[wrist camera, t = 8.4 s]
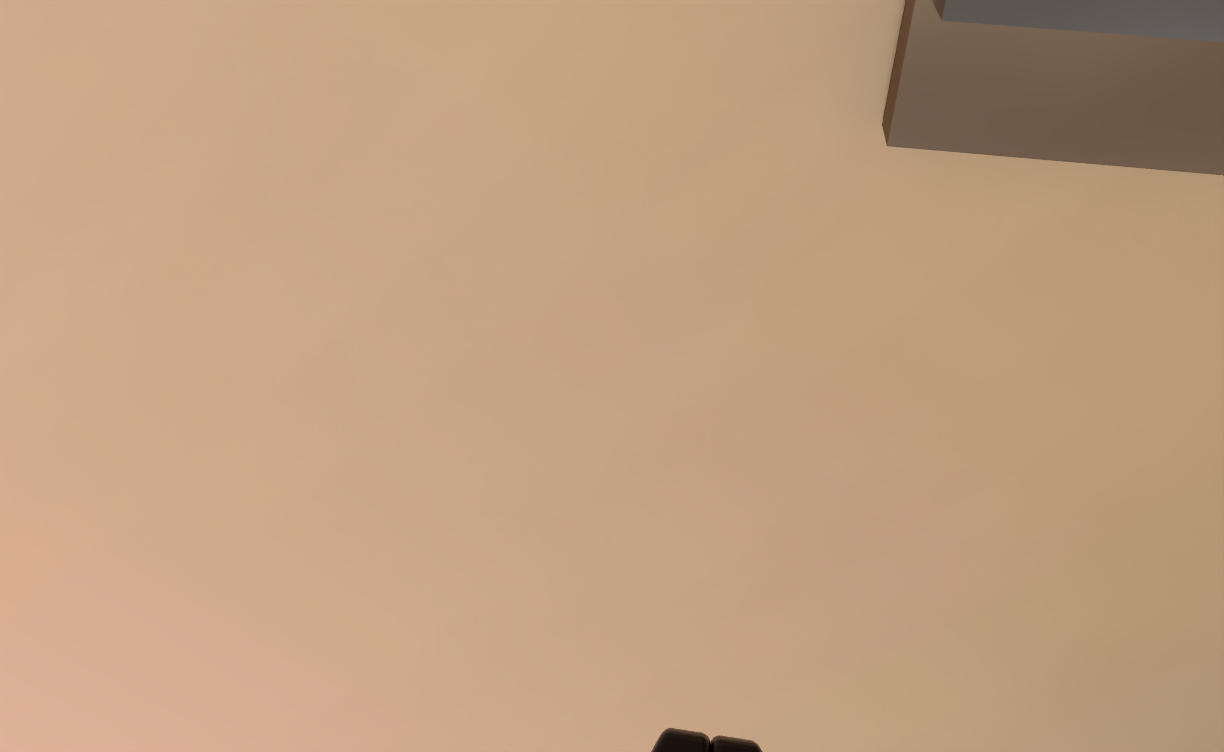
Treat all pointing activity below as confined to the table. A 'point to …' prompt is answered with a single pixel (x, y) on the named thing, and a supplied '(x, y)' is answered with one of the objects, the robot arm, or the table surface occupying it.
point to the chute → (1063, 81)
